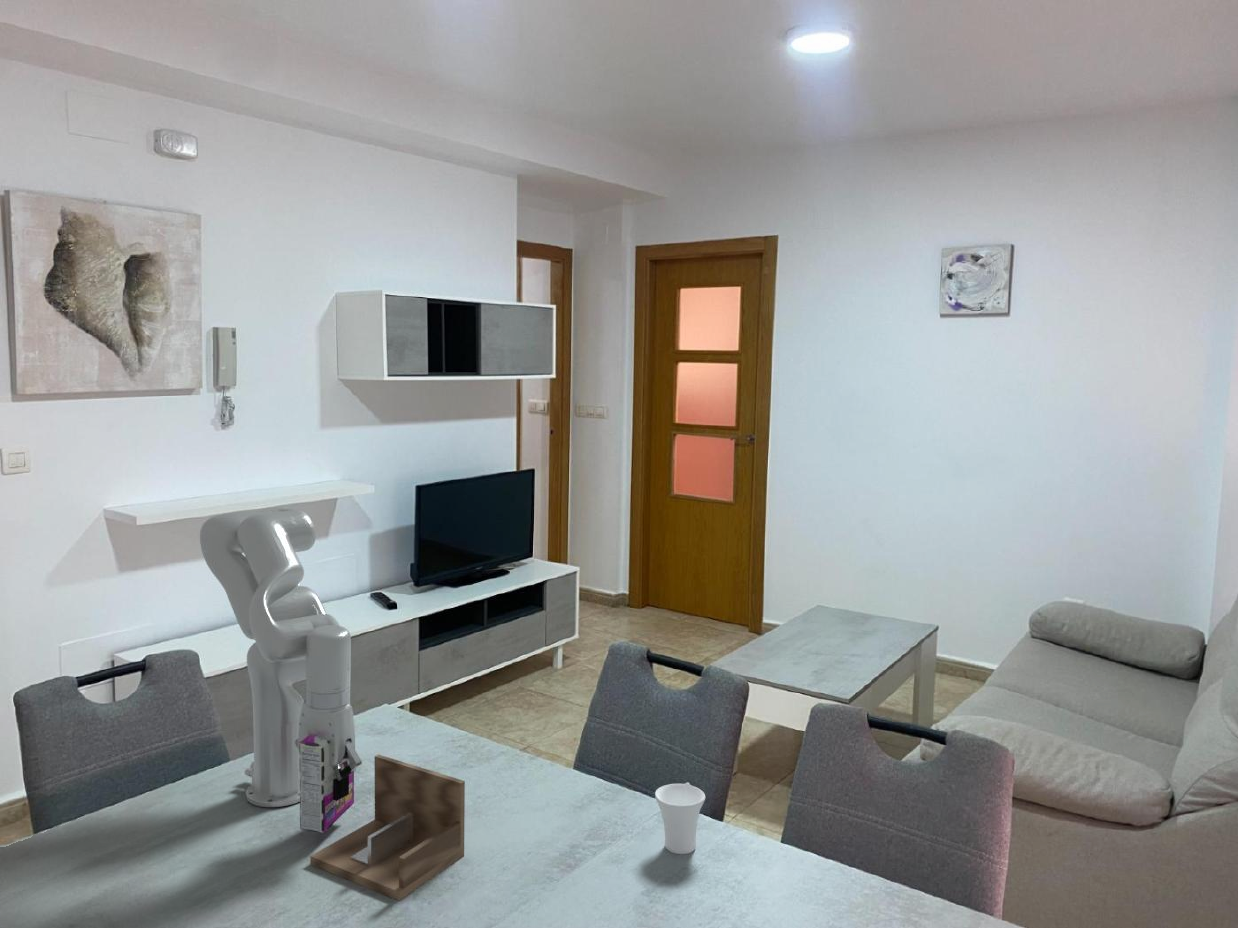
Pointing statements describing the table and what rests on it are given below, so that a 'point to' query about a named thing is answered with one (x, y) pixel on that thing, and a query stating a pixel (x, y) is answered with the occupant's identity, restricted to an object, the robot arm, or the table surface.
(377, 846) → the bookend
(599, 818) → the table surface
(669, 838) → the cup
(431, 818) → the shelf
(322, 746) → the candy bar box
